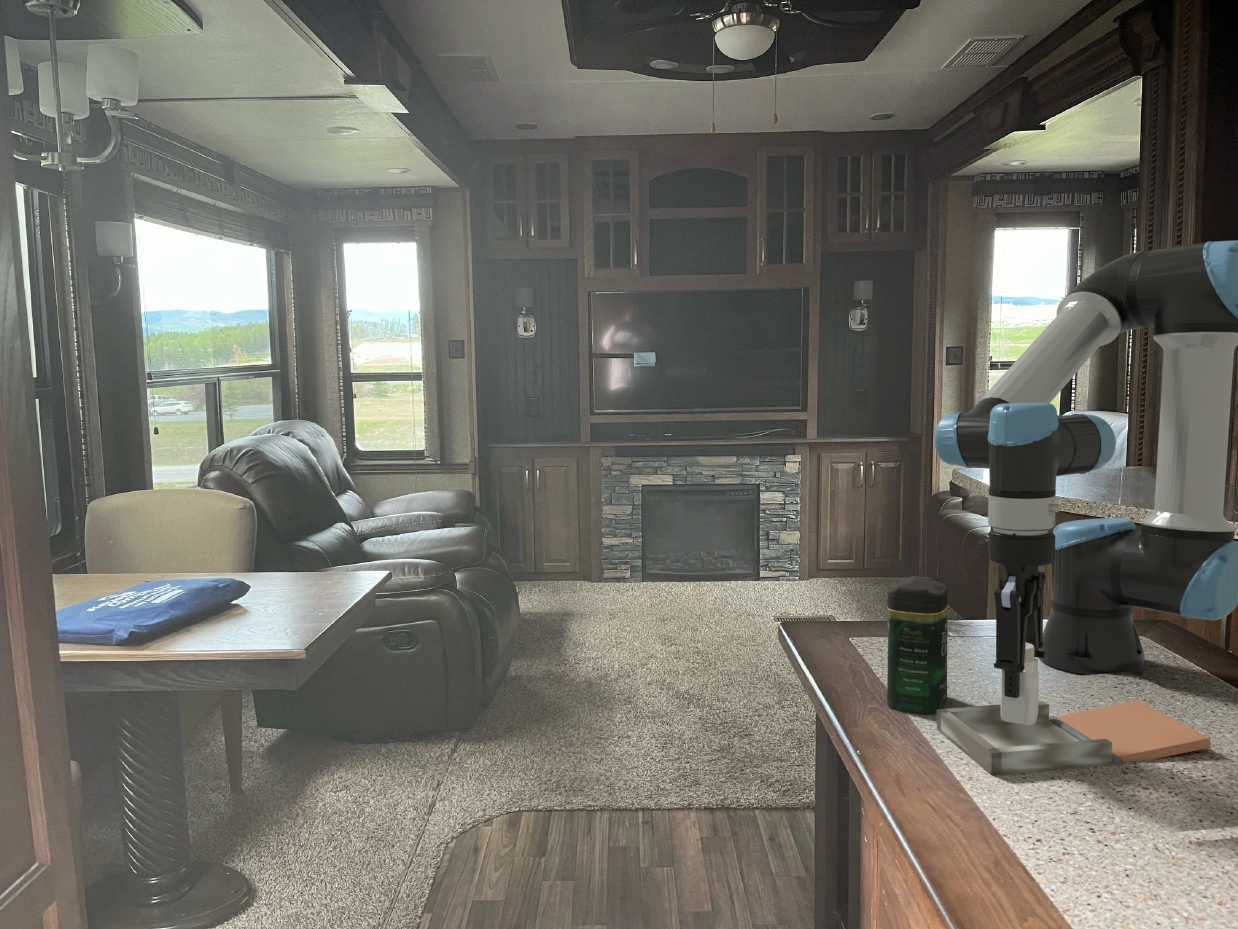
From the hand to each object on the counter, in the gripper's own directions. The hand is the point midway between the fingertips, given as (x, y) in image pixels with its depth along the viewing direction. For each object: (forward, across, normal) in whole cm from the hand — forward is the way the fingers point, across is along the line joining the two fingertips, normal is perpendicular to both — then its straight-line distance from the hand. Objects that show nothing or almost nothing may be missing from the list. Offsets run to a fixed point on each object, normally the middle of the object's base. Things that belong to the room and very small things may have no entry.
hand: (1019, 714), depth 113 cm
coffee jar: (+5, +8, +16) cm, 19 cm away
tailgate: (+4, +6, -6) cm, 10 cm away
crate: (+5, 0, 0) cm, 5 cm away
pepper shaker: (+1, 0, 0) cm, 1 cm away
